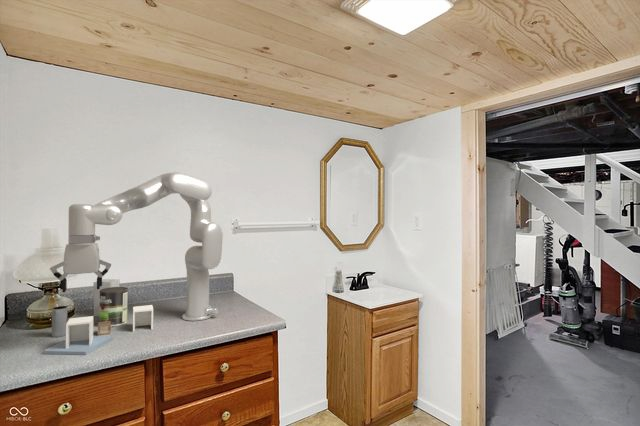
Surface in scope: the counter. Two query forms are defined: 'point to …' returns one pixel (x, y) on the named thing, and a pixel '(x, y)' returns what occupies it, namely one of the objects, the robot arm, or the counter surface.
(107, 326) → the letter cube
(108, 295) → the coffee can
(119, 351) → the counter surface
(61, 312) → the grey cylinder
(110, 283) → the skincare box
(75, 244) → the robot arm
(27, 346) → the counter surface
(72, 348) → the slate board
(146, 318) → the plain white cube box
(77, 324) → the white box
